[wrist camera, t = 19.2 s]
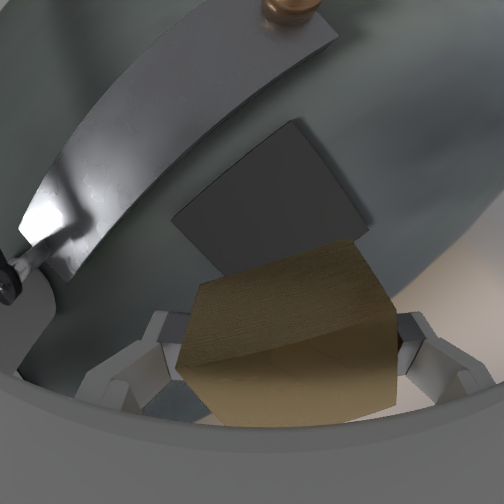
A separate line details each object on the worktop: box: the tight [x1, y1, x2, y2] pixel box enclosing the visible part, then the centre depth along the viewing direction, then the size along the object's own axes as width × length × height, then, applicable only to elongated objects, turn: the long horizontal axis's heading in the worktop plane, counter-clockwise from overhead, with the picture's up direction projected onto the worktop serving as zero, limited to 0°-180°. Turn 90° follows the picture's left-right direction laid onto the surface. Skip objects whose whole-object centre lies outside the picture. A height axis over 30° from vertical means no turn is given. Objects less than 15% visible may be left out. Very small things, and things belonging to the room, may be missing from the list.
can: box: [0, 258, 56, 375], centre depth 17 cm, size 8×8×12 cm
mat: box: [171, 121, 369, 277], centre depth 19 cm, size 10×9×1 cm
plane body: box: [11, 0, 339, 284], centre depth 13 cm, size 24×6×7 cm, turn 130°
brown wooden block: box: [175, 237, 398, 427], centre depth 9 cm, size 6×4×4 cm
